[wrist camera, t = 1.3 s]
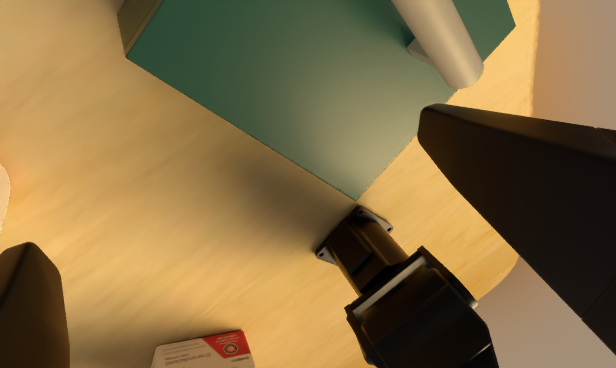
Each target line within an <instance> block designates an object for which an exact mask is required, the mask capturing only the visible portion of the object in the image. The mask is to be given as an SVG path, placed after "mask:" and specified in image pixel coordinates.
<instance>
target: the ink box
mask: <svg viewBox="0 0 616 368" xmlns="http://www.w3.org/2000/svg"><path fill="white" fill-rule="evenodd" d="M151 368H256V366H255V363H254V360H253V357H252V355H251V352H250V349H249V346H248V343H247V340H246V337H245V335H244V332H243V331H237V332H232V333H226V334H220V335H215V336H209V337H204V338H198V339H193V340H187V341H181V342H176V343H170V344H164V345H159V346H157V347H156V349H155V353H154V357H153V361H152V365H151Z"/></svg>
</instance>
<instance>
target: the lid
mask: <svg viewBox="0 0 616 368" xmlns="http://www.w3.org/2000/svg"><path fill="white" fill-rule="evenodd" d="M515 26H516V25H515V22H514V20H513V17H512V14H511V11H510V8H509V5H508V2H507V0H157V1H156V3H155V4H154V6H153V8H152V9H151V11H150V12H149V14H148V15H147V17H146V18H145V20H144V21H143V23H142V24H141V26H140V27H139V29H138V30H137V32H136V33H135V35H134V36H133V38H132V39H131V41H130V42H129V44H128V45H127V47H126V48H125V50H124V53H125V57H126V58H127V59H128V60H130V61H132V62H133V63H135V64H136V65H138V66H140V67H141V68H143V69H144V70H146V71H148V72H149V73H151V74H152V75H154V76H156V77H157V78H159V79H160V80H162V81H164V82H165V83H167V84H168V85H170V86H172V87H173V88H175V89H176V90H178V91H180V92H181V93H183V94H185V95H186V96H188V97H189V98H191V99H193V100H194V101H196V102H197V103H199V104H201V105H202V106H204V107H205V108H207V109H209V110H210V111H212V112H213V113H215V114H217V115H218V116H220V117H221V118H223V119H225V120H226V121H228V122H229V123H231V124H233V125H234V126H236V127H237V128H239V129H241V130H242V131H244V132H245V133H247V134H249V135H250V136H252V137H254V138H255V139H257V140H258V141H260V142H262V143H263V144H265V145H266V146H268V147H270V148H271V149H273V150H274V151H276V152H278V153H279V154H281V155H282V156H284V157H286V158H287V159H289V160H290V161H292V162H294V163H295V164H297V165H298V166H300V167H302V168H303V169H305V170H306V171H308V172H310V173H311V174H313V175H314V176H316V177H318V178H319V179H321V180H322V181H324V182H326V183H327V184H329V185H331V186H332V187H334V188H335V189H337V190H339V191H340V192H342V193H343V194H345V195H347V196H348V197H350V198H351V199H353V200H355V201H356V200H357V199H358V198H359V197H360V196H361V195H362V194H363V193H364V192H365V191H366V189H367V188H368V187H369V186H370V185H371V184H372V183H373V182H374V181H375V180H376V179H377V177H378V176H379V175H380V174H381V173H382V172H383V171H384V170H385V169H386V168H387V166H388V165H389V164H390V163H391V162H392V161H393V160H394V159H395V158H396V157H397V156H398V154H399V153H400V152H401V151H402V150H403V149H404V148H405V147H406V146H407V145H408V144H409V142H410V141H411V140H412V139H413V138H414V137H415V136H416V135H417V133H418V126H419V118H420V112H421V110H422V109H423V108H424V107H426V106H429V105H432V104H435V103H441V104H445V103H446V102H447V101H448V100H449V99H450V98H451V97H452V95H453V94H454V93H455V92H456V91H457V90H458V89H464V88H467V87H469V86H471V85H473V84H474V83H475V82H476V81H477V80H478V79H479V78H480V77H481V75H482V73H483V69H484V64H483V62H484V60H485V59H486V58H487V57H488V56H489V55H490V54H491V53H492V52H493V51H494V50H495V48H496V47H497V46H498V45H499V44H500V43H501V42H502V41H503V40H504V39H505V38H506V36H507V35H508V34H509V33H510V32H511V31H512V30H513V29H514V28H515Z"/></svg>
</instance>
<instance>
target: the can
mask: <svg viewBox="0 0 616 368" xmlns="http://www.w3.org/2000/svg"><path fill="white" fill-rule="evenodd" d="M10 192H11V185H10V180H9V177H8V174H7V172H6V170H5V168H4V167H3V165H2V164H1V163H0V232H1V228H2V225H3V221H4V217H5V214H6V210H7V206H8V202H9V198H10Z"/></svg>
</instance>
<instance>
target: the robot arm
mask: <svg viewBox="0 0 616 368" xmlns="http://www.w3.org/2000/svg"><path fill="white" fill-rule="evenodd" d="M417 137H418V141H419V143H420V145H421V146H422V147H423V149H424V150H425V151H426V152H427V154H428V155H429V156H430V158H431V159H432V160H433V161H434V163H435V164H436V165H437V167H438V168H439V169H440V170H441V172H442V173H443V174H444V175H445V177H446V178H447V179H448V180H449V182H450V183H451V184H452V185H453V186H454V187H455V189H456V190H457V191H458V192H459V193H460V194H461V195H462V196H463V197H464V198H465V199H466V200H467V201H468V202H469V203H470V204H471V205H472V206H473V207H474V208H475V209H476V210H477V211H478V212H479V214H480V215H481V216H482V217H483V218H484V219H485V220H486V221H487V222H488V223H489V224H490V225H491V226H492V227H493V228H494V229H495V230H496V231H497V232H498V233H499V234H500V235H501V236H502V237H503V238H504V239H505V241H506V242H507V243H508V244H509V245H510V246H511V247H512V248H513V249H514V250H515V251H516V252H517V253H518V254H519V255H520V256H521V257H522V258H523V259H524V260H525V261H526V262H527V263H528V264H529V265H530V266H531V267H532V269H533V270H534V271H535V272H536V273H537V274H538V275H539V276H540V277H541V278H542V279H543V280H544V281H545V282H546V283H547V284H548V285H549V286H550V287H551V288H552V289H553V290H554V291H555V292H556V293H557V294H558V296H559V297H560V298H561V299H562V300H563V301H564V302H565V303H566V304H567V305H568V306H569V307H570V308H571V309H572V310H573V311H574V312H575V313H576V314H577V315H578V316H579V317H580V318H582V321H583V322H584V323H585V324H586V325H587V326H588V327H589V328H590V329H591V330H592V331H593V332H594V333H595V334H596V335H597V336H598V337H599V338H600V340H602V342H604V344H605V345H606V346H607V347H608V348H609V349H610V350H611V351H612V352H613V353H614V354H615V355H616V130H610V129H604V128H596V129H595V128H594V127H590V126H584V125H577V124H570V123H564V122H558V121H551V120H545V119H538V118H532V117H525V116H519V115H512V114H506V113H499V112H493V111H486V110H480V109H473V108H467V107H460V106H454V105H447V104H441V103H435V104H432V105H429V106H426V107H424V108H423V109H422V110H421V112H420V118H419V126H418V133H417ZM392 230H393V226H392V225H391V224H390V223H388V222H387V221H385V220H383V219H382V218H380V217H379V216H377V215H375V214H374V213H372V212H371V211H369V210H367V209H366V208H364V207H362V206H358V207H356V208H355V209H354V210H353V211H352V212H351V213H350V215H349V216H348V217H347V218H346V219H345V220H344V221H343V222H342V223H341V224H340V225H339V227H338V228H337V229H336V230H335V231H334V232H333V233H332V234H331V235H330V236H329V237H328V238H327V240H326V241H325V242H324V243H323V244H322V245H321V246H320V247H319V248H318V249H317V250H316V252H315V255H316V257H317V258H318V259H321V260H324V261H326V262H329V263H332V264H334V265H337V266H338V267H339V268H340V270H341V271H342V273H343V274H344V276H345V277H346V278H347V280H348V281H349V283H350V284H351V286H352V287H353V289H354V290H355V292H356V293H357V295H358V296H359V298H357V299H356V300H355V301H354V302H352V303H351V304H350V305H349V304H348V305H347V306H346V307H344V309H345V311H346V313H347V315H348V316H347V318H346V319H347V321H348V322H349V324H350V326H351V327H352V329H353V331H354V333H355V335H356V337H357V339H358V342H359V345H360V348H361V350H362V353H363V356H364V359H365V360H366V362H367V363H368V364H370V365H374V366H376V367H377V368H499V366H498V362H497V358H496V355H495V351H494V347H493V344H492V340H491V337H490V333H489V329H488V327H487V325H486V323H485V322H484V321H483V320H482V319H481V318H480V317H479V315H478V314H477V313H476V312H475V311H474V310H475V309H476V308H477V307H478V306H479V305H478V303H477V301H476V300H475V299H474V297H473V296H472V295H471V293H470V292H469V291H468V290H467V289H466V288H465V286H464V285H463V284H462V283H461V282H460V281H459V280H458V279H457V278H456V277H455V276H454V275H453V274H452V273H451V272H450V271H449V270H448V269H447V268H446V267H445V266H444V265H443V264H441V263H440V262H439V261H438V260H437V259H436V258H435V257H434V256H433V255H432V254H431V253H430V252H429V251H428V250H426V249H425V248H424V247H423V246H421V247H419V248H418V249H417V251H416V252H415V253H414V254H412V255H411V256H410V257H409V256H408V255H407V254H406V253H405V252H404V251H403V249H402V248H401V247H400V246H399V245H398V244H397V243H396V242H395V241H394V239H393V238H392V237H391V236H390V235H389V233H390V232H391V231H392ZM0 368H70V347H69V336H68V328H67V320H66V313H65V305H64V297H63V289H62V282H61V276H60V273H59V271H58V269H57V267H56V266H55V265H54V264H53V263H52V261H51V260H50V259H49V258H48V257H47V256H46V255H45V254H44V252H43V251H42V250H41V249H40V248H39V247H38V246H37V245H36V244H34V243H33V242H25V243H23V244H20V245H17V246H14V247H11V248H8V249H6V250H4V251H3V252H2V253H1V254H0Z"/></svg>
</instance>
